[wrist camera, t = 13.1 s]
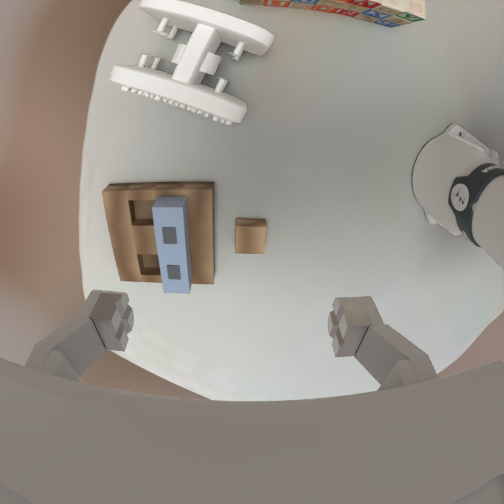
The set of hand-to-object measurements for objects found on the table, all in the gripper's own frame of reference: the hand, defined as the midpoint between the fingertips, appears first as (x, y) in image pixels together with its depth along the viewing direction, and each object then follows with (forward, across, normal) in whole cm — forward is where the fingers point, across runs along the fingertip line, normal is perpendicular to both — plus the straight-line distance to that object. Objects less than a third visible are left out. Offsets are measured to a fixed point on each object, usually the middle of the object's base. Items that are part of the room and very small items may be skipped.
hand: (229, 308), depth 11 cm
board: (+30, +12, +14) cm, 36 cm away
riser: (+31, -2, +14) cm, 34 cm away
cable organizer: (+31, +5, -11) cm, 33 cm away
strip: (+29, +9, +14) cm, 34 cm away
